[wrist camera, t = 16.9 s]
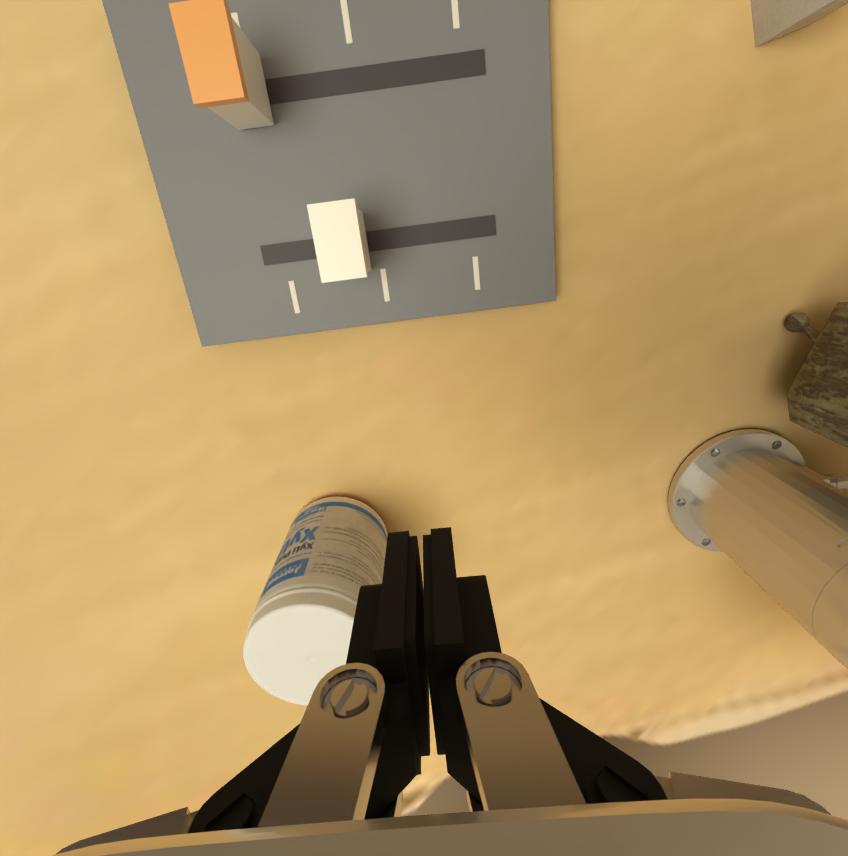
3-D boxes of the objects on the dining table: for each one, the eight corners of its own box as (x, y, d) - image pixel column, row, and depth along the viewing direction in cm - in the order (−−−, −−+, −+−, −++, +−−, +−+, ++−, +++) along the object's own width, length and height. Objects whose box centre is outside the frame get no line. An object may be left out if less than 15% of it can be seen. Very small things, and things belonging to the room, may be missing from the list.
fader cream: (365, 208, 34) (354, 198, 27) (374, 272, 35) (366, 277, 29) (326, 213, 34) (306, 204, 27) (337, 277, 35) (321, 283, 29)
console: (538, -46, 31) (547, -66, 29) (548, 298, 39) (556, 300, 37) (120, 14, 32) (101, -1, 30) (212, 342, 39) (201, 346, 37)
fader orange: (261, 49, 30) (222, -5, 24) (277, 128, 32) (244, 96, 26) (219, 55, 30) (168, 3, 24) (236, 133, 32) (193, 103, 26)
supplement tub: (309, 478, 44) (263, 581, 30) (404, 512, 45) (401, 626, 32) (278, 559, 47) (222, 688, 33) (368, 589, 48) (351, 723, 34)
